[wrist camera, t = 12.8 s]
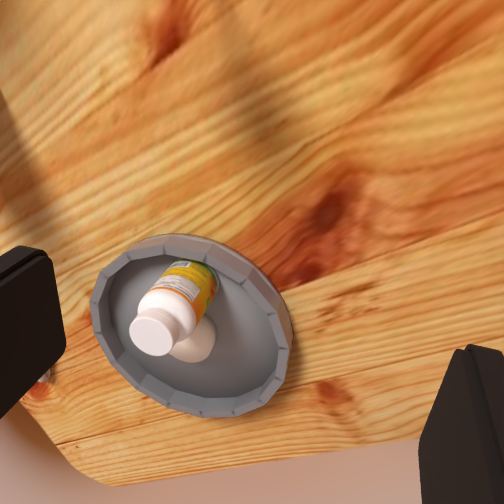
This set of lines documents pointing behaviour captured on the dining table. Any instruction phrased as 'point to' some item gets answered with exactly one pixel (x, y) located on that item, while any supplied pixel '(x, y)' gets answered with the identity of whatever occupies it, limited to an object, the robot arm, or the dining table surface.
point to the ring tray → (197, 329)
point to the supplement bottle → (173, 306)
